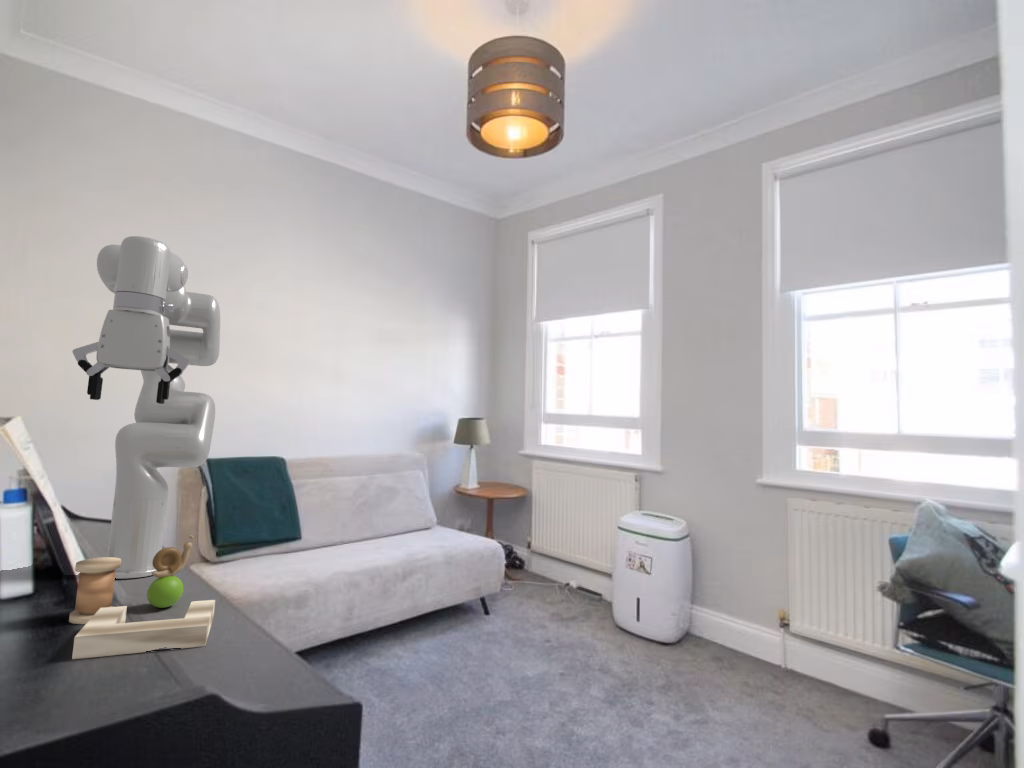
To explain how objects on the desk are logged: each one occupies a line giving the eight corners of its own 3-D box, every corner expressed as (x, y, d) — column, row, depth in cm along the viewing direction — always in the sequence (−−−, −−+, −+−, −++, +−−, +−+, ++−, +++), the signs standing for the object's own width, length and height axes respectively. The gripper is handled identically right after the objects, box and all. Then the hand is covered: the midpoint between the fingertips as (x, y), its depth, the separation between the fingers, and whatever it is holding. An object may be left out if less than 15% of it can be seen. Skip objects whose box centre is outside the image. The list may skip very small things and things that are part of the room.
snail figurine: (193, 605, 95) (200, 537, 96) (153, 614, 90) (161, 542, 91) (179, 598, 98) (186, 532, 99) (139, 607, 93) (147, 537, 94)
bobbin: (75, 612, 89) (82, 558, 90) (119, 609, 91) (125, 556, 92) (63, 625, 83) (70, 567, 84) (109, 622, 86) (116, 565, 87)
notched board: (98, 627, 84) (100, 607, 84) (213, 617, 90) (215, 599, 90) (71, 659, 73) (74, 636, 73) (205, 646, 79) (207, 625, 79)
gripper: (197, 317, 102) (188, 405, 101) (87, 304, 96) (75, 398, 94) (191, 309, 96) (181, 404, 94) (72, 295, 89) (59, 397, 87)
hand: (128, 401), depth 94 cm, fingers open, 9 cm apart
